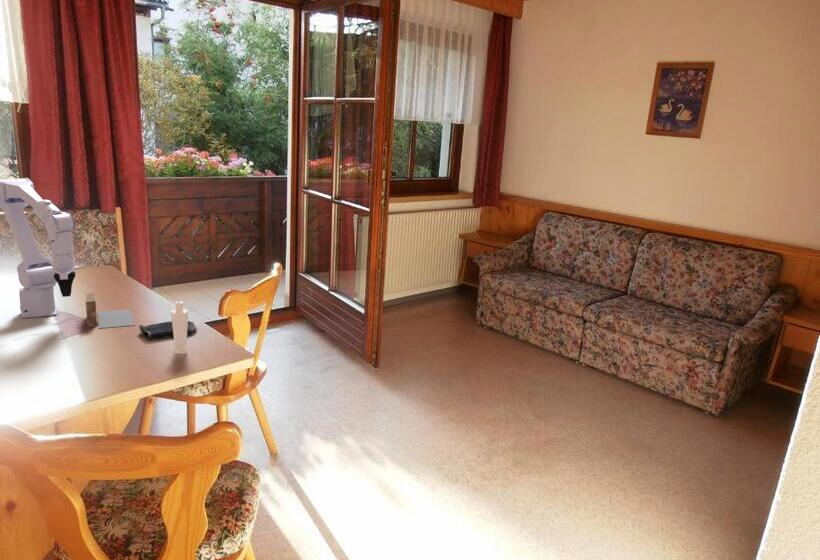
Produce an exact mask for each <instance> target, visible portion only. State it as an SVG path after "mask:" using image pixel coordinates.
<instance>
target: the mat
mask: <svg viewBox="0 0 820 560" xmlns="http://www.w3.org/2000/svg"><path fill="white" fill-rule="evenodd" d="M97 322H98V329H99V330H100V329H109V328H121V327H123V328H124V327H132V326H133V325H134V326H136V324H135V320H134V315H133V311H132V309H129V308H128V309H120V310H119V309H118V310H104V311H98V312H97Z"/></svg>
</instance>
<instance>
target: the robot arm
mask: <svg viewBox="0 0 820 560" xmlns="http://www.w3.org/2000/svg"><path fill="white" fill-rule="evenodd" d="M28 206H30V207H32V212H33V214H34V215H35V216H37V217H38V219H39V220H41V221H42V223H43V224H44V228H45V231H46V232H47V237H48V239H49V240H50V247H51V258H52V259H51V258H49V257H47V256H44V255H43V254H41V251H40V249H39V246H38V243H37V241H36V238H35V235H34V234H33V231H32V228H31V227H30V224H29V221H28V218H27V217H26V214H25V212H24V209H25V208H26V207H28ZM0 210H3V213H4V216H5V218H6V220H7V223H8V225H9V228H10V230H11V233H12V235H13V238H14V241H15V243H16V245H17V247H18V251H19V252H20V254H21V257H22V261H21V262H20V263H19V264H18V265H17V266H16V271H17V277H18V281H19V284H20V285H21V286H22V287H20V288H19V292H18V293H19V294H18V295H19V296H18V297H19V303H20V304H19V310H20V314H21V318H22V319H24V318H25V319H26V318H37V317H49V316H56V315H57V314H58V306H56V301H55V289H54V287H55V286H56V284H58V287H59V290H60V293H61V296H62V297H63V298H64V297H71V294H72V287H73V283H74V279H75V278H76V271H75V270H80V266H79V265H75V251H74V250H75V249H74V240H73V233H74V231H76V229H77V222H76V220H75V219H76V218H75V217H74V216H73V215H72V214H73V213H71V212H63V211H62V210H61V209H59V208H58V207H57V206H56V205H55V204H54V203H53V202H52V201H51V200H49V199H43V198H42V197H41V196H40V195H39V194H38V193H37V192H36V190H35V186H34V183H33V181H32V180H31V179H29V178H28V177H23V178H5V179H3V178H1V179H0Z"/></svg>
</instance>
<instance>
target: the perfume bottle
mask: <svg viewBox="0 0 820 560" xmlns="http://www.w3.org/2000/svg"><path fill="white" fill-rule="evenodd" d="M174 303H175V308H174V309H172V310H170V315H171V317H170V318H171V321H172V326H173V335H174V336H173V341H174V348H173V352H174V353H175V355H182V354H187V353H188V351H189V349H188V346H187V341H188V335H187V325H188V321H189V310H188V309H186V308H184V301H181V300H179V301H175V302H174Z"/></svg>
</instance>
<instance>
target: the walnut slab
mask: <svg viewBox="0 0 820 560" xmlns="http://www.w3.org/2000/svg"><path fill="white" fill-rule="evenodd" d="M96 303H97V302H96V293H95V292H90V293H89V292H88V293H85V312H86V314H85V315H86V324H87V326H88V325H94V326H98V314H97V304H96Z"/></svg>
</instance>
